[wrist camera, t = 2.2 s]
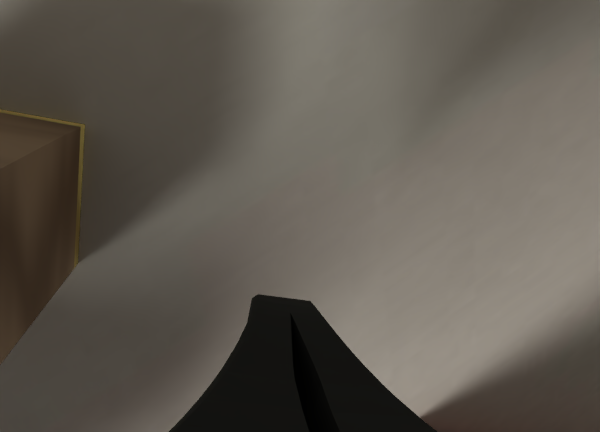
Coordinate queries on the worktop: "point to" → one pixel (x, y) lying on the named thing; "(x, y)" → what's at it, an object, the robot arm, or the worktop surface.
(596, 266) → the worktop surface
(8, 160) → the brown wooden block
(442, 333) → the worktop surface
